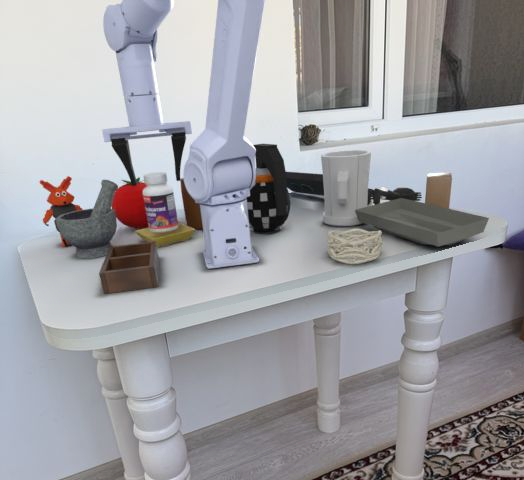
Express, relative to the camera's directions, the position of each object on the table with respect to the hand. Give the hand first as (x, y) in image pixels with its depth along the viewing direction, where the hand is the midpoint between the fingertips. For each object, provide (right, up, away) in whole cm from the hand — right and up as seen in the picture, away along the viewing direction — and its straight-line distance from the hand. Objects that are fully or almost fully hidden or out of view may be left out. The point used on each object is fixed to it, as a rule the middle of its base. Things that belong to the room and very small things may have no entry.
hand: (156, 182), depth 86 cm
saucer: (+1, -9, +5) cm, 11 cm away
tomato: (-6, -4, +16) cm, 18 cm away
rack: (-1, -18, -12) cm, 22 cm away
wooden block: (+49, -7, +1) cm, 50 cm away
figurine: (+47, +1, +15) cm, 49 cm away
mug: (+9, -4, +14) cm, 17 cm away
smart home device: (+24, +13, +37) cm, 45 cm away
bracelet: (+36, -14, -14) cm, 42 cm away
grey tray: (+44, -7, -7) cm, 45 cm away
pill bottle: (+1, -7, +4) cm, 9 cm away
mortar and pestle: (-11, -12, +1) cm, 16 cm away
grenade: (+20, -8, +5) cm, 22 cm away
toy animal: (-18, -9, +8) cm, 22 cm away
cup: (+35, -6, +6) cm, 36 cm away
